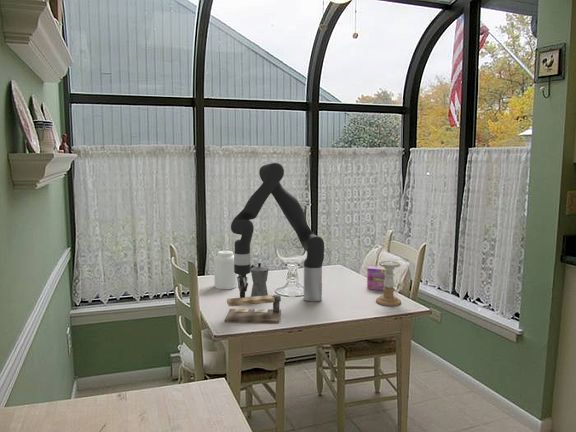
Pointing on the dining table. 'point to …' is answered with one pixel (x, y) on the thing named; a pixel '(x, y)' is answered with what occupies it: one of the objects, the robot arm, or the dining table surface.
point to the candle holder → (388, 285)
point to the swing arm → (253, 300)
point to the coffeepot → (259, 280)
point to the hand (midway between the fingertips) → (242, 299)
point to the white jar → (224, 270)
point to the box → (375, 277)
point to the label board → (255, 315)
